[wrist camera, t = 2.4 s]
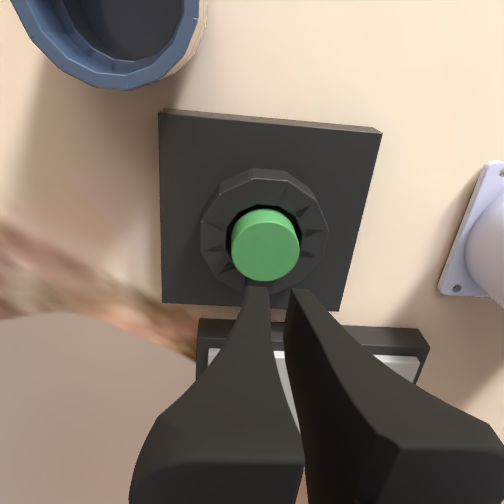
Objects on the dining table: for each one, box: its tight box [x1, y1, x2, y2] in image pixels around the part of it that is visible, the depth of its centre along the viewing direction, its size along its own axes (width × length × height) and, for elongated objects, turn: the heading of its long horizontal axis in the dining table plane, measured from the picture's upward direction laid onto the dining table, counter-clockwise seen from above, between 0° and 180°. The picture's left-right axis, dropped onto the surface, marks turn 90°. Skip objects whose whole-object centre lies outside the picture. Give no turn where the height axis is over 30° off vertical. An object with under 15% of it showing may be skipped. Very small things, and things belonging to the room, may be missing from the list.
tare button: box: [231, 208, 300, 281], centre depth 17 cm, size 3×3×2 cm
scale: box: [196, 319, 430, 470], centre depth 26 cm, size 14×12×2 cm
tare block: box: [158, 108, 382, 312], centre depth 19 cm, size 10×10×3 cm
